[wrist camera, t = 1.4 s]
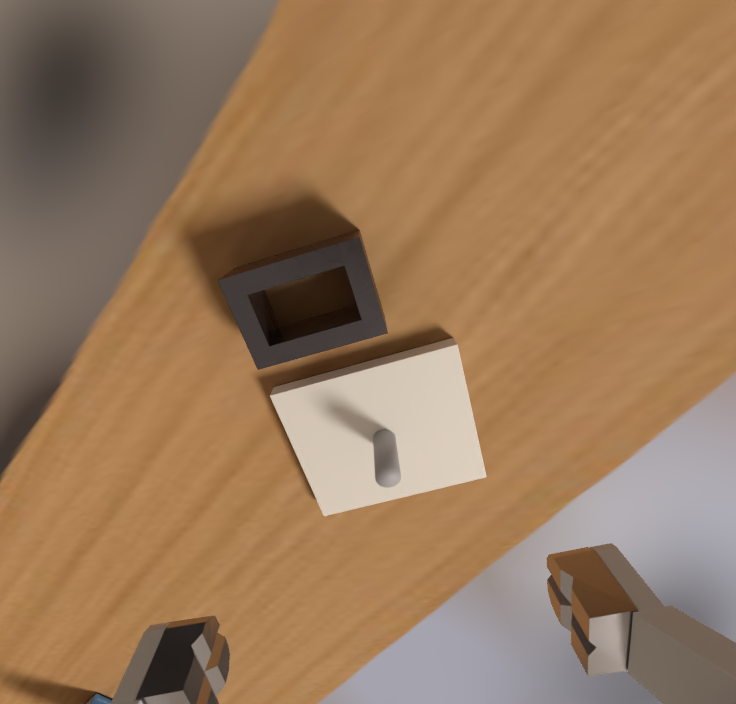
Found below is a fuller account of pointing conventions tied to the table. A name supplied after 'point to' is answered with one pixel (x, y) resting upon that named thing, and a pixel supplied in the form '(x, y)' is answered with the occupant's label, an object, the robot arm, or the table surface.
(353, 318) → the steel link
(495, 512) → the table surface
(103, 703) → the label tape cartridge
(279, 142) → the table surface
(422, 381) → the keeper plate
